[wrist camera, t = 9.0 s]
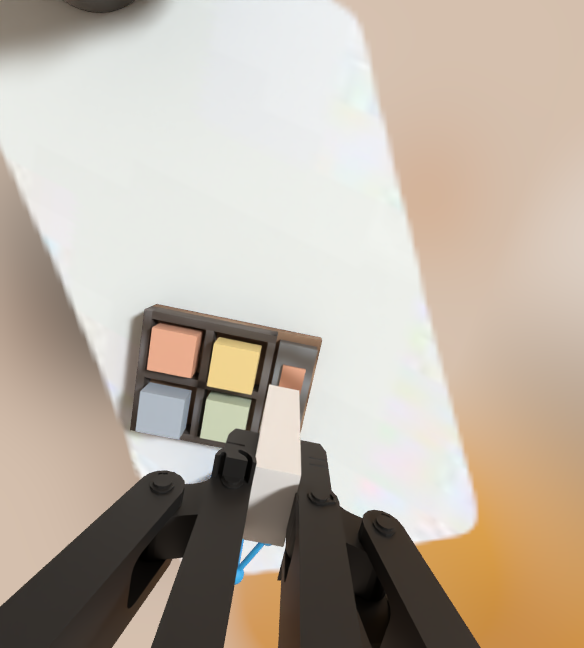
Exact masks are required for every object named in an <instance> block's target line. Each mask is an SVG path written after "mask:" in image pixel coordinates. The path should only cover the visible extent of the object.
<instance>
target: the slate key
mask: <svg viewBox="0 0 584 648" xmlns="http://www.w3.org/2000/svg"><path fill="white" fill-rule="evenodd" d="M191 392H192V390H187V389H182V388H177V387H172V386H167V385H162V384H157V383H152V382H150V383H148V384H147V385H146V386H145V387H144V388H143V389H142V390H141V391H140V398H139V406H138V415H137V423H136V432H141V433H147V434H152V435H157V436H162V437H167V438H173V439H178V440H179V439H180V437H181V435H182V434H183V432H184V430H185V429H186V424H187V417H188V411H189V404H190V398H191Z"/></svg>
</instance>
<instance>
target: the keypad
mask: <svg viewBox="0 0 584 648" xmlns="http://www.w3.org/2000/svg"><path fill="white" fill-rule="evenodd" d="M161 322H162V323H167V324H172V325H177V326H182V327H187V328H192V329H197V330H202V331H203V335H202V342H201V348H200V354H199V361H198V367H197V371H196V372H195V373H194V375H193V376H192V377H191V378H186V377H181V376H176V375H171V374H166V373H161V372H156V371H151V370H147V365H148V357H149V349H150V341H151V333H152V327H154V326H156V325H157V324H159V323H161ZM219 337H222V338H227V339H232V340H236V341H241V342H246V343H251V344H256V345H261V346H262V348H261V353H260V358H259V363H258V368H257V373H256V379H255V384H254V388H253V391H252V394H251V395H249V394H244V393H239V392H234V391H229V390H224V389H219V388H214V387H209V386H207V382H208V376H209V370H210V364H211V358H212V352H213V346H214V343H215V341H216V340H217V339H218V338H219ZM321 343H322V339H321V338H320V337H315V336H310V335H305V334H301V333H296V332H291V331H286V330H281V329H276V328H271V327H266V326H261V325H257V324H252V323H247V322H242V321H237V320H232V319H227V318H222V317H217V316H213V315H208V314H203V313H198V312H193V311H188V310H183V309H178V308H173V307H169V306H164V305H159V304H156V305H153V306H151V307H149V308H147V309H145V310H144V319H143V327H142V336H141V344H140V352H139V361H138V369H137V377H136V386H135V394H134V403H133V411H132V419H131V428H130V430H133V431H136V423H137V415H138V406H139V398H140V391H141V390H142V389H143V388H144V387H145V386H146V385H147V384H148V383H150V382H152V383H157V384H162V385H167V386H172V387H177V388H182V389H187V390H192V392H191V398H190V404H189V411H188V417H187V424H186V429H185V430H184V432H183V434H182V435H181V437H180V440H185V441H190V442H195V443H201V444H206V445H211V446H216V447H221V448H224V446H225V443H224V442H219V441H214V440H208V439H203V438H200V435H201V429H202V423H203V417H204V411H205V405H206V399H207V397H208V396H209V394H210V392H211V390H212V391H218V392H223V393H228V394H233V395H238V396H243V397H248V398H252V401H251V406H250V411H249V416H248V421H247V426H246V430H247V431H252V432H257V433H259V430H260V425H261V421H262V416H263V411H264V407H265V402H266V397H267V393H268V388H269V385H274V386H279V387H284V388H289V389H294V390H299V401H300V433H301V428H302V424H303V420H304V415H305V411H306V407H307V403H308V398H309V394H310V390H311V386H312V381H313V377H314V373H315V369H316V364H317V360H318V356H319V352H320V347H321Z"/></svg>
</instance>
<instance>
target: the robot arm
mask: <svg viewBox="0 0 584 648" xmlns="http://www.w3.org/2000/svg"><path fill="white" fill-rule="evenodd" d="M64 1H65V2H67V3H69V4H70V5H72V6H74V7H77V8H79V9H82V10H86V11H90V12H110V11H114V10H118V9H120V8H123V7H125V6H127V5H128V4H130V3H131V2H133V1H134V0H64ZM285 538H286V548H285V552H284V556H283V560H282V564H281V567H280V571H279V576H278V580H281V599H280V620H279V642H278V648H480V646H479V644H478V643H477V641H476V640H475V638H474V637H473V635H472V634H471V632H470V630H469V629H468V627H467V626H466V624H465V623H464V621H463V620H462V618H461V616H460V615H459V613H458V612H457V610H456V609H455V607H454V605H453V604H452V602H451V601H450V599H449V598H448V596H447V594H446V593H445V591H444V590H443V588H442V587H441V585H440V584H439V582H438V580H437V579H436V577H435V576H434V574H433V573H432V571H431V570H430V568H429V566H428V565H427V564H426V562H425V560H424V559H423V558H422V555H421V554H420V552H419V551H418V549H417V548H416V546H415V544H414V543H413V541H412V540H411V538H410V537H409V535H408V534H407V532H406V530H405V529H404V527H403V526H402V525H401V524H400V522H399V521H398V520H397V519H395V518H394V517H393V516H391V515H390V514H388V513H385V512H383V511H378V510H371V511H367V512H366V513H365V514H364V515H363V518H361V517H358V516H356V515H354V514H352V513H350V512H348V511H346V510H344V509H343V508H342V507H340V505H339V501H338V498H337V496H336V495H335V494H334V493H333V492H332V490H331V483H330V476H329V469H328V462H327V455H326V451H325V450H324V449H323V447H322V446H321V445H320V444H317V443H312V442H307V441H302V440H300V401H299V390H294V389H289V388H284V387H279V386H274V385H269V388H268V393H267V397H266V402H265V407H264V411H263V416H262V421H261V425H260V430H259V433H257V432H252V431H247V430H242V429H237V428H236V429H234V430H233V431H232V432H230V433H229V435H228V437H227V440H226V443H225V446H224V448H223V449H221V450H219V451H218V452H217V453H216V455H215V460H214V465H213V470H212V476H211V478H210V479H208V480H207V481H205V482H201V483H197V484H185V482H184V480H183V478H182V477H181V476H180V475H178V474H176V473H175V472H170V471H156V472H152V473H149V474H147V475H146V476H144V477H143V478H142V479H141V480H139V481H138V482H137V483H136V484H135V485H134V486H133V487H132V488H131V489H130V490H129V491H127V492H126V493H125V494H124V495H123V496H122V497H121V498H120V499H119V500H117V501H116V502H115V503H114V504H113V505H112V506H111V507H110V508H109V509H108V510H106V511H105V512H104V513H103V514H102V515H101V516H100V517H99V518H98V519H97V520H95V521H94V522H93V523H92V524H91V525H90V526H89V527H88V528H87V529H85V530H84V531H83V532H82V533H81V534H80V535H79V536H78V537H77V538H76V539H74V540H73V542H71V543H70V544H69V545H68V546H67V547H66V548H65V549H64V550H62V551H61V552H60V553H59V554H58V555H57V556H56V557H55V558H53V559H52V560H51V561H50V562H49V563H48V564H47V565H46V566H45V567H43V569H41V570H40V571H39V572H38V573H37V574H36V575H35V576H34V577H33V578H31V579H30V580H29V581H28V582H27V583H26V584H25V585H24V586H23V587H21V588H20V589H19V590H18V591H17V592H16V593H15V594H14V595H13V596H11V597H10V598H9V599H8V600H7V601H6V602H5V603H4V604H3V605H2V606H0V648H112V647H113V645H114V644H115V642H116V641H117V639H118V638H119V637H120V635H121V634H122V632H123V631H124V629H125V628H126V627H127V625H128V624H129V622H130V621H131V620H132V618H133V617H134V615H135V614H136V612H137V611H138V610H139V608H140V607H141V605H142V604H143V602H144V601H145V600H146V598H147V597H148V595H149V594H150V592H151V591H152V590H153V588H154V587H155V585H156V583H157V582H158V581H159V579H160V578H161V577H162V575H163V574H164V572H165V571H166V569H167V568H168V566H169V565H170V563H171V561H172V559H174V558H183V559H182V561H181V564H180V567H179V570H178V573H177V576H176V578H175V581H174V584H173V587H172V590H171V593H170V595H169V599H168V601H167V604H166V607H165V610H164V612H163V615H162V618H161V621H160V624H159V627H158V629H157V632H156V635H155V638H154V641H153V643H152V646H151V648H223V647H224V641H225V636H226V629H227V625H228V619H229V613H230V608H231V602H232V596H233V591H234V585H235V579H236V573H237V568H238V562H239V556H240V551H241V545H242V539H244V540H249V541H255V542H260V543H265V544H271V545H276V546H281V547H283V546H284V542H285Z"/></svg>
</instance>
